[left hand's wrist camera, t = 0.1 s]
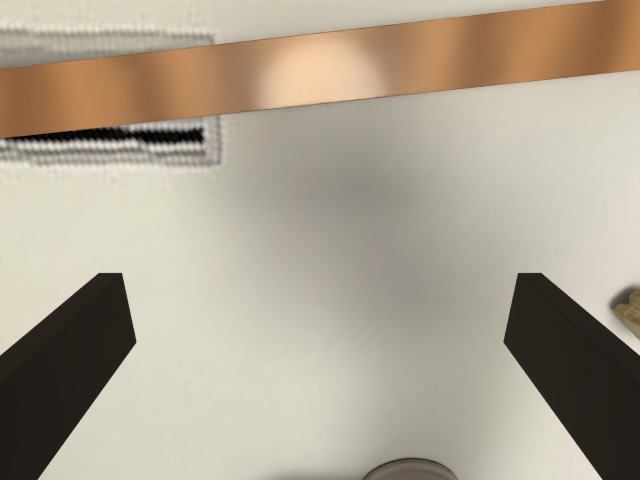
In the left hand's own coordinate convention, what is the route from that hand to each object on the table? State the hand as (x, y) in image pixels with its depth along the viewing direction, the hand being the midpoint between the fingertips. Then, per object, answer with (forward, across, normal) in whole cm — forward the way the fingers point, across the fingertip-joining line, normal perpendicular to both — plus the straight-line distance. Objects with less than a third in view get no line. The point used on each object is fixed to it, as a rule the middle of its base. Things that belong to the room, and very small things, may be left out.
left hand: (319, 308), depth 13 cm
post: (+28, +5, -8) cm, 30 cm away
